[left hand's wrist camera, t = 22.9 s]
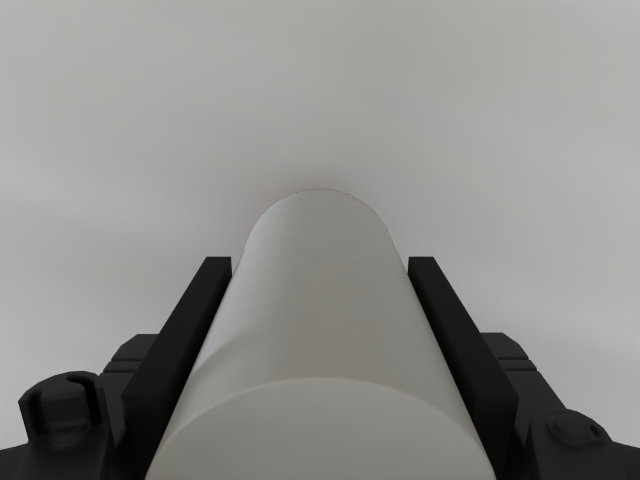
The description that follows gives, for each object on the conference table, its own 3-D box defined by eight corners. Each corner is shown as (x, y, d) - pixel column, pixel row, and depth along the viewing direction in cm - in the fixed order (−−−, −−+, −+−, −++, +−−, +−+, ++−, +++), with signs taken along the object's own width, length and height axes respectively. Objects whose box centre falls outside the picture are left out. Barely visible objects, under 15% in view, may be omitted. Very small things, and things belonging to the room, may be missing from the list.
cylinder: (396, 186, 16) (524, 373, 6) (391, 324, 18) (482, 639, 8) (240, 190, 16) (109, 382, 6) (251, 327, 18) (165, 645, 8)
